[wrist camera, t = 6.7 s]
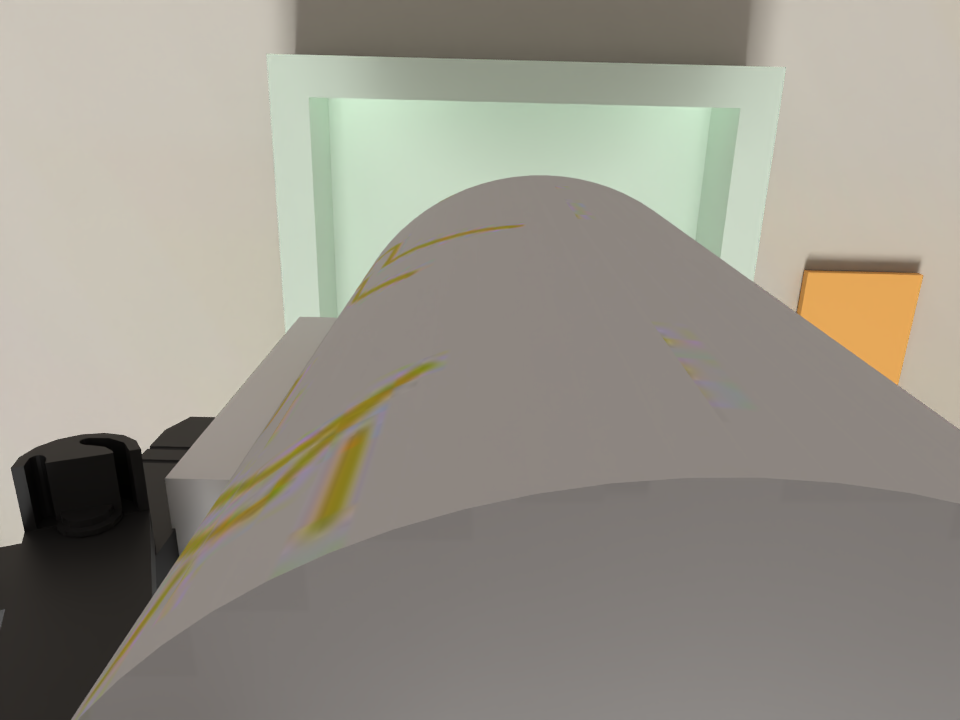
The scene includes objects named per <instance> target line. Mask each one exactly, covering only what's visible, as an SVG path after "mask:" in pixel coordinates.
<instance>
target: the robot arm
mask: <svg viewBox="0 0 960 720" xmlns="http://www.w3.org/2000/svg"><path fill="white" fill-rule="evenodd" d="M336 320H337V318H334V317H299V318H298V319H297V320H296V322H295V323H294V324H293V325H292V326H291V328H290V329H289V330H288V331H287V332H286V334H285V335H284V336H283V337H282V338H281V340H280V341H279V342H278V343H277V344H276V346H275V347H274V348H273V349H272V350H271V352H270V353H269V354H268V355H267V356H266V358H265V359H264V360H263V361H262V362H261V364H260V365H259V366H258V367H257V368H256V370H255V371H254V372H253V373H252V374H251V376H250V377H249V378H248V379H247V380H246V382H245V383H244V384H243V385H242V386H241V388H240V389H239V390H238V391H237V392H236V394H235V395H234V396H233V397H232V398H231V400H230V401H229V402H228V403H227V404H226V406H225V407H224V408H223V409H222V410H221V412H220V413H219V414H218V415H217V416H216V417H189V418H188V419H186V420H184V421H182V422H180V423H178V424H176V425H174V426H172V427H170V428H168V429H166V430H165V431H164V432H163V433H162V434H161V435H160V436H159V437H158V438H157V439H156V440H155V441H154V442H153V443H152V444H151V446H150V449H147V450H146V451H145V452H144V453H143V454H141V448H140V447H139V445H138V443H137V441H136V440H134V439H131V438H129V437H127V436H124V435H117V434H108V433H98V434H83V435H77V436H72V437H67V438H63V439H58V440H55V441H52V442H49V443H47V444H44V445H41V446H38V447H36V448H34V449H32V450H31V451H29V452H27V453H26V454H24V455H22V456H21V457H19V458H18V460H17V461H16V462H15V463H14V465H13V466H12V467H11V471H12V476H13V480H14V485H15V489H16V494H17V499H18V503H19V508H20V512H21V517H22V522H23V526H24V531H25V533H24V537H23V541H22V543H21V544H16V545H11V546H6V547H0V720H71V719H72V717H73V716H74V714H75V713H76V711H77V710H78V708H79V707H80V705H81V704H82V702H83V701H84V699H85V698H86V696H87V695H88V693H89V692H90V690H91V689H92V687H93V686H94V684H95V683H96V681H97V680H98V678H99V677H100V675H101V674H102V672H103V671H104V669H105V668H106V666H107V665H108V663H109V662H110V660H111V659H112V657H113V656H114V654H115V653H116V651H117V650H118V648H119V647H120V645H121V644H122V642H123V641H124V639H125V638H126V636H127V635H128V633H129V632H130V630H131V629H132V627H133V626H134V624H135V623H136V621H137V619H138V618H139V616H140V615H141V613H142V612H143V610H144V609H145V607H146V606H147V604H148V603H149V601H150V600H151V598H152V597H153V595H154V594H155V592H156V591H157V589H158V588H159V586H160V585H161V583H162V582H163V580H164V579H165V577H166V576H167V574H168V573H169V571H170V570H171V568H172V567H173V565H174V564H175V562H176V561H177V559H178V558H179V556H180V555H181V553H182V552H183V550H184V549H185V547H186V546H187V544H188V543H189V541H190V540H191V538H192V537H193V535H194V534H195V532H196V531H197V529H198V528H199V526H200V525H201V523H202V522H203V520H204V519H205V517H206V516H207V514H208V513H209V511H210V509H211V508H212V506H213V505H214V503H215V502H216V500H217V499H218V497H219V496H220V494H221V493H222V491H223V490H224V488H225V487H226V485H227V484H228V482H229V481H230V479H231V478H232V476H233V475H234V473H235V472H236V470H237V469H238V467H239V466H240V464H241V463H242V461H243V460H244V458H245V457H246V455H247V454H248V452H249V451H250V449H251V448H252V446H253V445H254V443H255V442H256V440H257V439H258V437H259V436H260V434H261V433H262V431H263V430H264V428H265V427H266V425H267V424H268V422H269V421H270V419H271V418H272V416H273V415H274V413H275V412H276V410H277V409H278V407H279V406H280V404H281V402H282V401H283V399H284V398H285V396H286V395H287V393H288V392H289V390H290V389H291V387H292V386H293V384H294V383H295V381H296V380H297V378H298V377H299V375H300V374H301V372H302V371H303V369H304V368H305V366H306V365H307V363H308V362H309V360H310V359H311V357H312V356H313V354H314V353H315V351H316V350H317V348H318V347H319V345H320V344H321V342H322V341H323V339H324V338H325V336H326V335H327V333H328V332H329V330H330V329H331V327H332V326H333V324H334V323H335V321H336Z"/></svg>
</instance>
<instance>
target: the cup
mask: <svg viewBox="0 0 960 720" xmlns="http://www.w3.org/2000/svg"><path fill="white" fill-rule="evenodd" d="M71 720H960V430H959V429H958V428H957V427H955V426H954V425H952V424H951V423H950V422H948V421H947V420H946V419H944V418H943V417H941V416H940V415H939V414H937V413H936V412H934V411H933V410H932V409H930V408H929V407H927V406H926V405H925V404H923V403H922V402H920V401H919V400H918V399H916V398H915V397H913V396H912V395H911V394H909V393H908V392H906V391H905V390H904V389H902V388H901V387H899V386H898V385H897V384H895V383H894V382H892V381H891V380H890V379H888V378H887V377H885V376H884V375H883V374H881V373H880V372H878V371H877V370H876V369H874V368H873V367H871V366H870V365H869V364H867V363H866V362H864V361H863V360H862V359H860V358H859V357H857V356H856V355H855V354H853V353H852V352H850V351H849V350H848V349H846V348H845V347H843V346H842V345H841V344H839V343H838V342H836V341H835V340H834V339H832V338H831V337H829V336H828V335H827V334H825V333H824V332H823V331H821V330H820V329H818V328H817V327H816V326H814V325H813V324H811V323H810V322H809V321H807V320H806V319H804V318H803V317H802V316H800V315H799V314H797V313H796V312H795V311H793V310H792V309H790V308H789V307H788V306H786V305H785V304H783V303H782V302H781V301H779V300H778V299H776V298H775V297H774V296H772V295H771V294H769V293H768V292H767V291H765V290H764V289H762V288H761V287H760V286H758V285H757V284H755V283H754V282H753V281H751V280H750V279H748V278H747V277H746V276H744V275H743V274H741V273H740V272H739V271H737V270H736V269H734V268H733V267H732V266H730V265H729V264H727V263H726V262H725V261H723V260H722V259H720V258H719V257H718V256H716V255H715V254H713V253H712V252H711V251H709V250H708V249H707V248H705V247H704V246H702V245H701V244H700V243H698V242H697V241H695V240H694V239H693V238H691V237H690V236H688V235H687V234H686V233H684V232H683V231H681V230H680V229H679V228H677V227H676V226H674V225H673V224H672V223H670V222H669V221H667V220H666V219H665V218H663V217H662V216H660V215H659V214H658V213H656V212H655V211H653V210H652V209H650V208H649V207H647V206H646V205H644V204H643V203H641V202H639V201H638V200H636V199H634V198H632V197H630V196H628V195H626V194H624V193H622V192H619V191H617V190H615V189H612V188H610V187H607V186H604V185H601V184H597V183H594V182H590V181H586V180H582V179H576V178H570V177H564V176H550V175H529V176H518V177H510V178H504V179H499V180H494V181H490V182H487V183H483V184H480V185H477V186H474V187H471V188H468V189H465V190H463V191H461V192H458V193H456V194H454V195H452V196H450V197H448V198H446V199H444V200H442V201H440V202H438V203H437V204H435V205H434V206H432V207H430V208H429V209H427V210H426V211H424V212H423V213H422V214H420V215H419V216H418V217H416V218H415V219H414V220H412V221H411V222H410V223H409V224H408V225H407V226H406V227H404V228H403V229H402V230H401V231H400V232H399V233H398V234H397V235H396V236H395V237H394V238H393V239H392V240H391V241H390V243H389V244H388V245H387V246H386V247H385V249H384V250H383V251H382V252H381V254H380V255H379V257H378V258H377V259H376V261H375V262H374V264H373V265H372V267H371V268H370V270H369V271H368V273H367V274H366V276H365V277H364V279H363V280H362V282H361V283H360V285H359V286H358V288H357V289H356V291H355V292H354V294H353V296H352V297H351V299H350V300H349V302H348V303H347V305H346V306H345V308H344V309H343V311H342V312H341V314H340V315H339V317H338V318H337V320H336V321H335V323H334V324H333V326H332V327H331V329H330V330H329V332H328V333H327V335H326V336H325V338H324V339H323V341H322V342H321V344H320V345H319V347H318V348H317V350H316V351H315V353H314V354H313V356H312V357H311V359H310V360H309V362H308V363H307V365H306V366H305V368H304V369H303V371H302V372H301V374H300V375H299V377H298V378H297V380H296V381H295V383H294V384H293V386H292V387H291V389H290V390H289V392H288V393H287V395H286V396H285V398H284V399H283V401H282V402H281V404H280V406H279V407H278V409H277V410H276V412H275V413H274V415H273V416H272V418H271V419H270V421H269V422H268V424H267V425H266V427H265V428H264V430H263V431H262V433H261V434H260V436H259V437H258V439H257V440H256V442H255V443H254V445H253V446H252V448H251V449H250V451H249V452H248V454H247V455H246V457H245V458H244V460H243V461H242V463H241V464H240V466H239V467H238V469H237V470H236V472H235V473H234V475H233V476H232V478H231V479H230V481H229V482H228V484H227V485H226V487H225V488H224V490H223V491H222V493H221V494H220V496H219V497H218V499H217V500H216V502H215V503H214V505H213V506H212V508H211V509H210V511H209V513H208V514H207V516H206V517H205V519H204V520H203V522H202V523H201V525H200V526H199V528H198V529H197V531H196V532H195V534H194V535H193V537H192V538H191V540H190V541H189V543H188V544H187V546H186V547H185V549H184V550H183V552H182V553H181V555H180V556H179V558H178V559H177V561H176V562H175V564H174V565H173V567H172V568H171V570H170V571H169V573H168V574H167V576H166V577H165V579H164V580H163V582H162V583H161V585H160V586H159V588H158V589H157V591H156V592H155V594H154V595H153V597H152V598H151V600H150V601H149V603H148V604H147V606H146V607H145V609H144V610H143V612H142V613H141V615H140V616H139V618H138V619H137V621H136V623H135V624H134V626H133V627H132V629H131V630H130V632H129V633H128V635H127V636H126V638H125V639H124V641H123V642H122V644H121V645H120V647H119V648H118V650H117V651H116V653H115V654H114V656H113V657H112V659H111V660H110V662H109V663H108V665H107V666H106V668H105V669H104V671H103V672H102V674H101V675H100V677H99V678H98V680H97V681H96V683H95V684H94V686H93V687H92V689H91V690H90V692H89V693H88V695H87V696H86V698H85V699H84V701H83V702H82V704H81V705H80V707H79V708H78V710H77V711H76V713H75V714H74V716H73V717H72V719H71Z"/></svg>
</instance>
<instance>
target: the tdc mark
mask: <svg viewBox="0 0 960 720" xmlns="http://www.w3.org/2000/svg"><path fill="white" fill-rule="evenodd" d="M922 279H923V275H922V274H919V273H895V272H854V271H812V270H804V275H803V281H802V287H801V292H800V298H799V304H798V309H797V314H799V315H800V316H802V317H803V318H804V319H806V320H807V321H809V322H810V323H811V324H813V325H814V326H816V327H817V328H818V329H820V330H821V331H823V332H824V333H825V334H827V335H828V336H829V337H831V338H832V339H834V340H835V341H836V342H838V343H839V344H841V345H842V346H843V347H845V348H846V349H848V350H849V351H850V352H852V353H853V354H855V355H856V356H857V357H859V358H860V359H862V360H863V361H864V362H866V363H867V364H869V365H870V366H871V367H873V368H874V369H876V370H877V371H878V372H880V373H881V374H883V375H884V376H885V377H887V378H888V379H890V380H891V381H892V382H894V383H895V384H897V385H898V382H899V378H900V374H901V369H902V365H903V361H904V356H905V352H906V348H907V343H908V339H909V335H910V331H911V326H912V322H913V318H914V313H915V309H916V305H917V300H918V296H919V292H920V287H921V283H922Z"/></svg>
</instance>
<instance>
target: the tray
mask: <svg viewBox="0 0 960 720" xmlns="http://www.w3.org/2000/svg"><path fill="white" fill-rule="evenodd" d="M266 56H267V71H268V86H269V100H270V115H271V130H272V144H273V159H274V173H275V188H276V203H277V217H278V232H279V246H280V261H281V276H282V290H283V305H284V320H285V334H286V332H287V331H288V330H289V329H290V328H291V326H292V325H293V324H294V323H295V322H296V320H297V319H298V318H299V317H334V318H338V317H339V315H340V314H341V312H342V311H343V309H344V308H345V306H346V305H347V303H348V302H349V300H350V299H351V297H352V296H353V294H354V292H355V291H356V289H357V288H358V286H359V285H360V283H361V282H362V280H363V279H364V277H365V276H366V274H367V273H368V271H369V270H370V268H371V267H372V265H373V264H374V262H375V261H376V259H377V258H378V257H379V255H380V254H381V252H382V251H383V250H384V249H385V247H386V246H387V245H388V244H389V243H390V241H391V240H392V239H393V238H394V237H395V236H396V235H397V234H398V233H399V232H400V231H401V230H402V229H403V228H404V227H406V226H407V225H408V224H409V223H410V222H411V221H412V220H414V219H415V218H416V217H418V216H419V215H420V214H422V213H423V212H424V211H426V210H427V209H429V208H430V207H432V206H434V205H435V204H437V203H438V202H440V201H442V200H444V199H446V198H448V197H450V196H452V195H454V194H456V193H458V192H461V191H463V190H465V189H468V188H471V187H474V186H477V185H480V184H483V183H487V182H490V181H494V180H499V179H504V178H510V177H518V176H529V175H550V176H564V177H570V178H576V179H582V180H586V181H590V182H594V183H597V184H601V185H604V186H607V187H610V188H612V189H615V190H617V191H619V192H622V193H624V194H626V195H628V196H630V197H632V198H634V199H636V200H638V201H639V202H641V203H643V204H644V205H646V206H647V207H649V208H650V209H652V210H653V211H655V212H656V213H658V214H659V215H660V216H662V217H663V218H665V219H666V220H667V221H669V222H670V223H672V224H673V225H674V226H676V227H677V228H679V229H680V230H681V231H683V232H684V233H686V234H687V235H688V236H690V237H691V238H693V239H694V240H695V241H697V242H698V243H700V244H701V245H702V246H704V247H705V248H707V249H708V250H709V251H711V252H712V253H713V254H715V255H716V256H718V257H719V258H720V259H722V260H723V261H725V262H726V263H727V264H729V265H730V266H732V267H733V268H734V269H736V270H737V271H739V272H740V273H741V274H743V275H744V276H746V277H747V278H748V279H750V280H751V281H754V274H755V268H756V261H757V255H758V248H759V242H760V235H761V229H762V222H763V216H764V209H765V203H766V196H767V189H768V183H769V176H770V170H771V163H772V157H773V150H774V144H775V137H776V131H777V124H778V117H779V111H780V104H781V98H782V91H783V85H784V78H785V72H786V67H762V66H723V65H684V64H645V63H606V62H568V61H529V60H490V59H451V58H413V57H374V56H335V55H296V54H266Z"/></svg>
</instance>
